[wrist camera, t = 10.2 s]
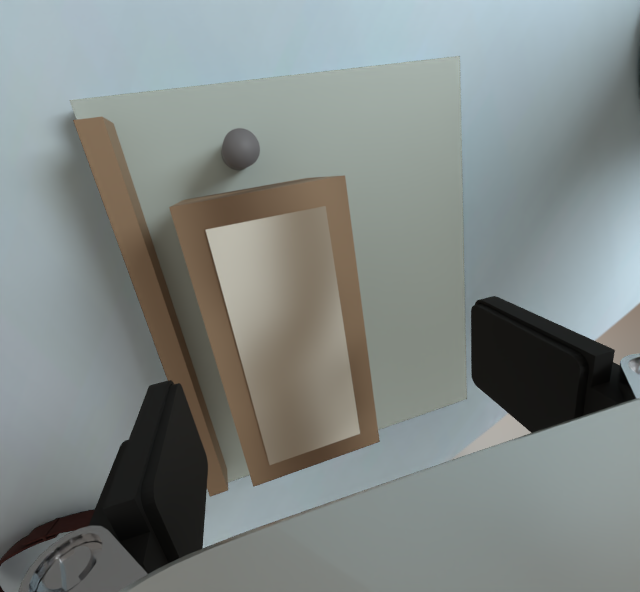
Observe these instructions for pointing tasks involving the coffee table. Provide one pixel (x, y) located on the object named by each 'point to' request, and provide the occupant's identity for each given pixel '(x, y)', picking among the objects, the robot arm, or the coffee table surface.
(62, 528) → the watch
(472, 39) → the coffee table surface
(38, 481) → the coffee table surface
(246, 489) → the coffee table surface
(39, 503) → the coffee table surface
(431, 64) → the wall board
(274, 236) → the wooden box
